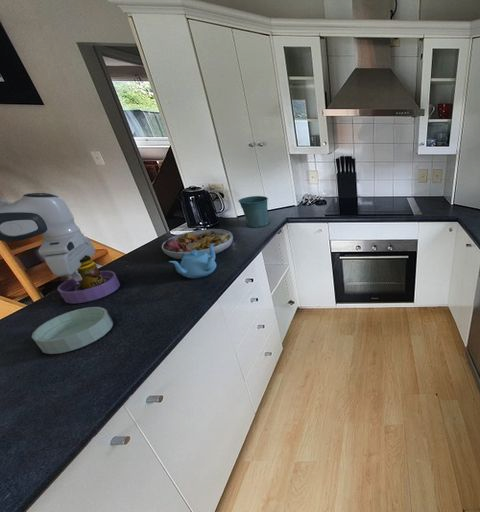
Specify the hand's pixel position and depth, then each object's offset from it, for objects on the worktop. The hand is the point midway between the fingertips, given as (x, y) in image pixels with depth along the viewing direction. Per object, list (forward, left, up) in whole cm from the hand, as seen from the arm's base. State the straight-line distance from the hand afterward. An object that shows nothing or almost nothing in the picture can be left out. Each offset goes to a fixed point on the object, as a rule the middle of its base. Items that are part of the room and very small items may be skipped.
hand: (84, 275), depth 99 cm
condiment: (0, 0, -6) cm, 6 cm away
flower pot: (+60, +57, -8) cm, 83 cm away
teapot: (+35, +1, -8) cm, 36 cm away
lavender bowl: (0, 0, -8) cm, 8 cm away
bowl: (+32, +29, -8) cm, 44 cm away
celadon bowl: (+6, -28, -8) cm, 30 cm away
